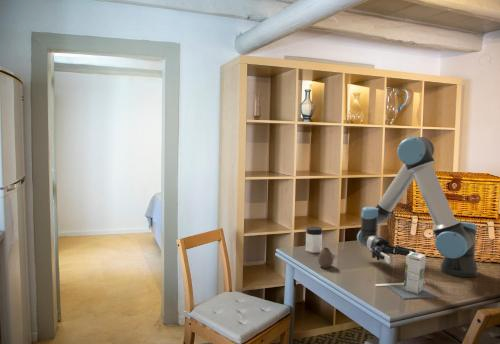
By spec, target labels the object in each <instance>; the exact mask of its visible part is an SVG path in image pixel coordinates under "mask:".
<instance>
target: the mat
mask: <svg viewBox="0 0 500 344" xmlns="http://www.w3.org/2000/svg"><path fill="white" fill-rule="evenodd" d="M386 287H387V288H388V289H390V290H391V291H392V292H393V293H395V294H396V295H397V296H399V297H400V298H402V300H413V299H414V300H415V299H426V298H427V299H428V298H438V296H437V295H436V294H435V293H434V292H432V291H430V290H428V289H427V288H425V287H424V286H423V290H422V291H421V292H419V293H418V294H417V293H413V292H409V291H406V290H404V285H394V286H386Z"/></svg>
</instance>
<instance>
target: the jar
mask: <svg viewBox="0 0 500 344" xmlns="http://www.w3.org/2000/svg"><path fill="white" fill-rule="evenodd" d="M322 245H323V228H322V227H321V226H316V225H315V226H307V227H306V232H305V251H306V252H308V253H312V254H315V253H320V252H321V251H322V250H323V248H322V247H323V246H322Z"/></svg>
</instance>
